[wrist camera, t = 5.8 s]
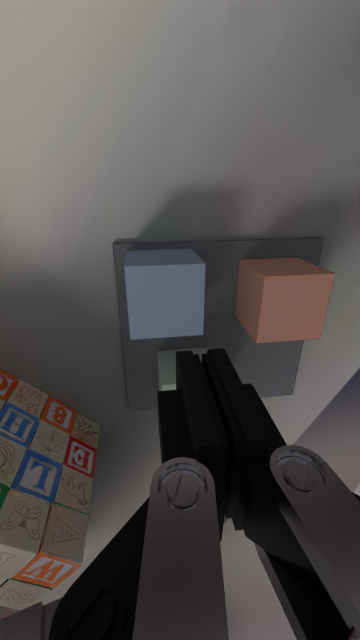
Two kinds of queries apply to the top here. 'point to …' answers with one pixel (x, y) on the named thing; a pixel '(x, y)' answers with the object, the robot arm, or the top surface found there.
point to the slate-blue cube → (164, 293)
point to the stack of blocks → (41, 491)
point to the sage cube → (172, 366)
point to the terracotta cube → (282, 299)
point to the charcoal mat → (215, 319)
